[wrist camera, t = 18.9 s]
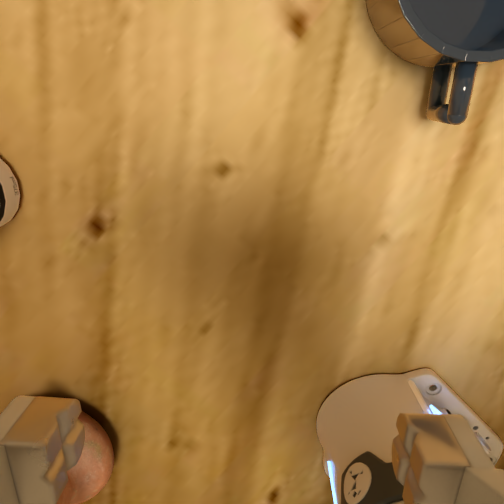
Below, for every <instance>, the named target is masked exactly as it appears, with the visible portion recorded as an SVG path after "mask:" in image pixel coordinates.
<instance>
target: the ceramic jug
mask: <svg viewBox="0 0 504 504" xmlns="http://www.w3.org/2000/svg"><path fill="white" fill-rule="evenodd" d="M78 419H79V420H80V421H81V422H82V423H83V425H84V429H85V442H84V446H83V450H82V454H81V456H80V458H79V460H78V462H77V464H76V465H75V466H74V467H72V468H71V469H70V470H68V471H67V475H68V482H67V484H66V486H65V488H64V490H63V492H62V494H61V496H60V497H59V499H58V501H57V503H56V504H80V503H83V502H85V501H87V500H89V499H90V498H92V497H94V496H95V495H96V494H97V493H99V492H100V491H101V489H102V488H103V487H104V486H105V485H106V483H107V482H108V480H109V478H110V476H111V473H112V470H113V465H114V452H113V447H112V443H111V441H110V439H109V437H108V435H107V433H106V432H105V430H104V429H103V428H102V426H101V425H100V424H99V423H98V422H97V421H96V420H94V419H93V418H92V417H90V416H89V415H88V414H86V413H84V412H83V411H82V412H81V413H80V415H79V417H78Z"/></svg>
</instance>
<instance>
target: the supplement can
mask: <svg viewBox="0 0 504 504" xmlns="http://www.w3.org/2000/svg"><path fill="white" fill-rule="evenodd" d="M19 200H20V192H19V188H18V183H17V180H16V178H15V176H14V175H13V173H12V171H11V169H10V168H9V166H8V165H7V164H6V163H5V162H4V161H3V160H1V159H0V227H1V226H3V225H4V224H6V223H7V222H9V221H10V220H12V218H13V216H14V215H15V213H16V212H17V210H18V207H19Z"/></svg>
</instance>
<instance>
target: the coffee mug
mask: <svg viewBox="0 0 504 504" xmlns="http://www.w3.org/2000/svg"><path fill="white" fill-rule="evenodd" d="M366 5H367V11H368V14H369V17H370V20H371V23H372V25H373V27H374V29H375V31H376V33H377V34H378V36H379V37H380V39H381V40H382V42H383V43H384V44H385V45H386V46H387V47H388V48H389V49H390V50H391V51H392V52H393V53H395V54H396V55H397V56H399V57H400V58H402V59H404V60H406V61H408V62H410V63H413V64H416V65H420V66H423V67H433V73H432V79H431V85H430V91H429V97H428V102H427V108H426V116H427V118H428V119H429V120H432V121H437V122H442V123H447V124H453V125H458V124H461V123H463V122H464V121H465V120H466V118H467V115H468V110H469V105H470V100H471V95H472V90H473V86H474V81H475V76H476V71H477V66H478V64H480V63H488V62H494V61H498V60H502V59H504V0H366ZM452 67H456V68H455V73H454V78H453V84H452V89H451V94H450V99H449V104H445V103H446V98H447V93H448V87H449V82H450V77H451V71H452Z"/></svg>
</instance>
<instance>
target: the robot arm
mask: <svg viewBox="0 0 504 504" xmlns="http://www.w3.org/2000/svg"><path fill="white" fill-rule="evenodd" d="M431 385H434V386H432V387H430V386H431ZM81 412H82V410H81V405H80V401H79V400H77V399H72V398H57V397H43V396H38V397H36V396H22V395H19V396H17V397H15V398H14V399H13V400H12V401H11V402H10V403H9V405H8V406H7V407H6V408H5V409H4V411H3V412H2V413H1V414H0V504H56V503H57V501H58V499H59V497H60V496H61V494H62V492H63V490H64V488H65V486H66V484H67V482H68V475H67V471H68V470H70V469H71V468H72V467H74V466H75V465H76V464H77V462H78V460H79V458H80V456H81V454H82V450H83V446H84V442H85V429H84V425H83V423H82V422H81V421H80V420H79V419H78V417H79V415H80V413H81ZM316 430H317V435H318V438H319V441H320V443H321V445H322V448H323V451H324V455H323V467H324V470H325V473H326V475H327V476H329V477H330V481H331V487H332V493H333V500H334V504H337V502H338V504H504V470H503V469H496V468H495V464H496V463H497V461H498V460H499V458H500V456H501V453H502V450H503V443H502V441H501V439H500V438H499V437H498V436H497V434H496V433H495V432H494V431H493V430H492V429H491V428H490V427H489V426H488V425H487V424H486V423H485V422H484V421H483V420H482V419H481V418H480V417H479V416H478V415H477V414H476V413H475V412H474V411H473V410H472V409H471V408H470V407H469V406H468V405H467V404H466V403H465V402H464V401H463V400H462V399H461V398H460V397H459V396H458V395H457V394H456V393H455V392H454V391H453V390H452V389H451V388H450V387H449V386H448V385H447V384H446V383H445V382H444V381H443V380H442V379H441V378H440V377H439V376H438V375H437V374H436V373H435V372H434V371H433V370H431V369H428V368H424V369H418V370H414V371H411V372H407V373H404V374H376V375H369V376H364V377H360V378H357V379H354V380H352V381H350V382H347V383H346V384H344V385H342V386H340V387H339V388H338V389H336V390H335V391H334V392H333V393H331V394H330V395H329V396H328V398H327V399H326V400H325V401H324V403H323V404H322V406H321V408H320V410H319V413H318V416H317V421H316ZM336 499H337V502H336Z"/></svg>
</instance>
